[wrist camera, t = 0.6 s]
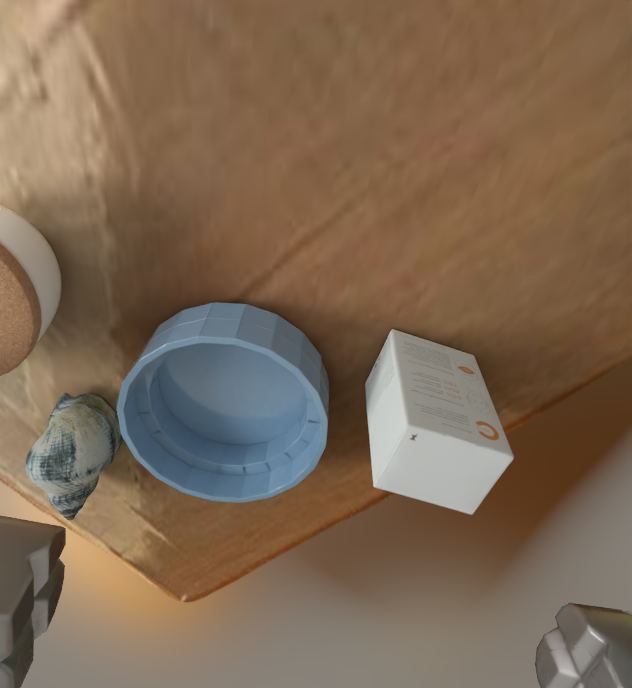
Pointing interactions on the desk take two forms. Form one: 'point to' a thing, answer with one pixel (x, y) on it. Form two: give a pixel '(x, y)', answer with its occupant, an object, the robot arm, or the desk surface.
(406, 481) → the small box
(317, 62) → the desk surface
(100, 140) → the desk surface
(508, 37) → the desk surface
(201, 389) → the faceted blue bowl
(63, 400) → the seashell
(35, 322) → the lidded bowl
